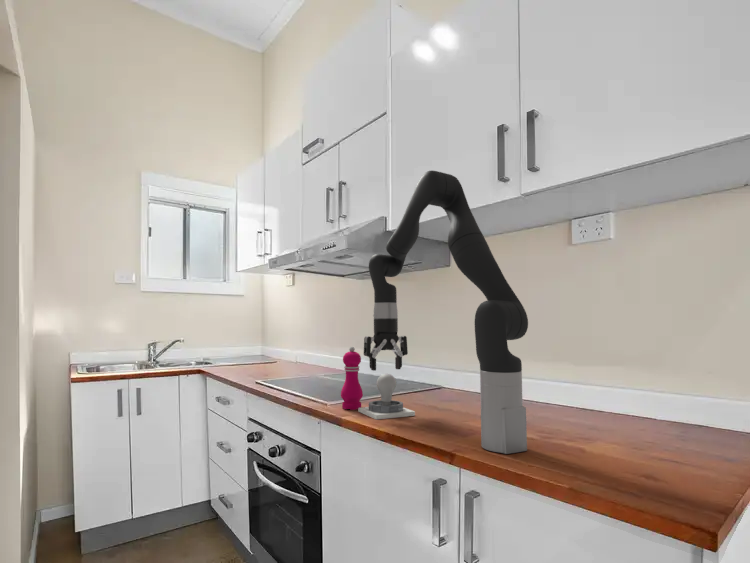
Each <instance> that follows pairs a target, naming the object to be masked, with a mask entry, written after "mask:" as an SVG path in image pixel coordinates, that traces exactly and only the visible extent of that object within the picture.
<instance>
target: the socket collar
mask: <svg viewBox="0 0 750 563" xmlns="http://www.w3.org/2000/svg"><path fill="white" fill-rule="evenodd" d="M368 407H369V411H372V412H378V413H395V412H400V411H403V408H404V402H403V401H400V400H393V399H392V400H391V405H390V406H385V405H382V400H381V399H379V400H378V399H377V400H372V401H369V402H368Z"/></svg>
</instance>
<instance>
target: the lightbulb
mask: <svg viewBox="0 0 750 563" xmlns="http://www.w3.org/2000/svg"><path fill="white" fill-rule="evenodd" d="M396 386H397V379H396V378H395V377H394V376H393V375H392V374H391V373H382V374H380V376H378V378H377V380H376V387H377V390H378V391H379V394H380V398H381V399H380V400H382V405H385V406H390V405H391V400H393V399H392V398H393V397H392V396H393V394H394V392H395V389H396V388H397V387H396Z"/></svg>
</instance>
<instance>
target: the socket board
mask: <svg viewBox="0 0 750 563" xmlns="http://www.w3.org/2000/svg"><path fill="white" fill-rule="evenodd" d="M357 410H358V411H357V412H358V413H360V414H363V415H365V416H367V417H370V418H372V419H374V420H385V419H395V418H406V417H414V416H416V411H415V410H412V409H409V408H406V407H403V411H400V412H395V413H378V412H372V411H369V406H364V407H362V406H361V408H358V409H357Z"/></svg>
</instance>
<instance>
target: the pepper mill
mask: <svg viewBox="0 0 750 563" xmlns="http://www.w3.org/2000/svg"><path fill="white" fill-rule="evenodd" d="M348 350H349V351H347V352H345V353H344V354H343V357H342V362H343V364H344V365H345V366H344V372H345V379H344V383H343V385H342V388H341V391H340V398H341V399H342V400H343V402H342V403H341V405H342V407H341V408H342V409H344V410H347V409H350V410H349V411H352V410H353V411H354V410H358V408H361V407H362V402H361V400H362V399H363V395H364V393H363V389H362V386H361V384H360V381H359V371H360V366H359V365H360V364H361V362H362V356H361V354H360V353H358V352H356V351H355V347H354V346H350V347H349V349H348Z"/></svg>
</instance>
